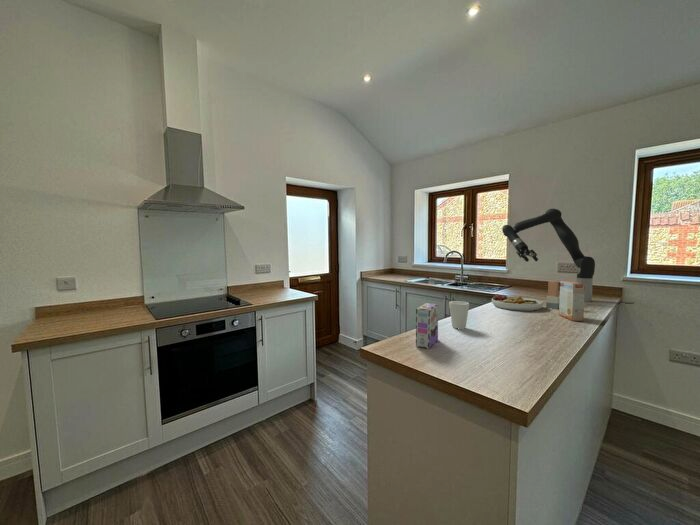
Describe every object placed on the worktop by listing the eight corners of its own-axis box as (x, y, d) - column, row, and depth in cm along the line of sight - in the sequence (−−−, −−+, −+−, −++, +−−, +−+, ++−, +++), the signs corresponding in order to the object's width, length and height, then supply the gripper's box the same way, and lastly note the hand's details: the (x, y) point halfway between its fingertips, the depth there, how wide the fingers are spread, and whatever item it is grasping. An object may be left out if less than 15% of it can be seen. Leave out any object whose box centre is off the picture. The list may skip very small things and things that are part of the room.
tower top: (549, 301, 195) (549, 295, 195) (559, 302, 191) (560, 296, 190) (546, 302, 191) (546, 296, 191) (557, 303, 187) (557, 297, 186)
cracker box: (584, 321, 156) (585, 283, 155) (571, 321, 157) (572, 283, 156) (570, 315, 170) (571, 280, 169) (558, 315, 171) (559, 280, 170)
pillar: (550, 295, 194) (550, 280, 193) (558, 296, 190) (558, 281, 190) (547, 296, 191) (548, 281, 191) (555, 297, 188) (556, 281, 187)
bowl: (546, 306, 196) (546, 295, 196) (537, 314, 174) (537, 301, 174) (498, 301, 217) (499, 291, 216) (485, 307, 195) (485, 296, 194)
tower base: (548, 306, 195) (549, 301, 195) (559, 308, 191) (559, 302, 191) (546, 308, 191) (546, 302, 191) (557, 309, 187) (557, 303, 187)
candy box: (429, 349, 117) (429, 309, 116) (415, 346, 120) (415, 307, 119) (438, 340, 128) (438, 303, 128) (425, 337, 132) (425, 302, 131)
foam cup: (448, 329, 145) (448, 303, 144) (449, 324, 153) (449, 300, 152) (469, 331, 141) (469, 305, 140) (468, 326, 150) (469, 301, 149)
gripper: (515, 241, 214) (527, 257, 204) (530, 241, 218) (543, 257, 207) (509, 248, 219) (521, 264, 209) (524, 248, 223) (536, 264, 213)
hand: (532, 260), depth 208 cm, fingers open, 8 cm apart
